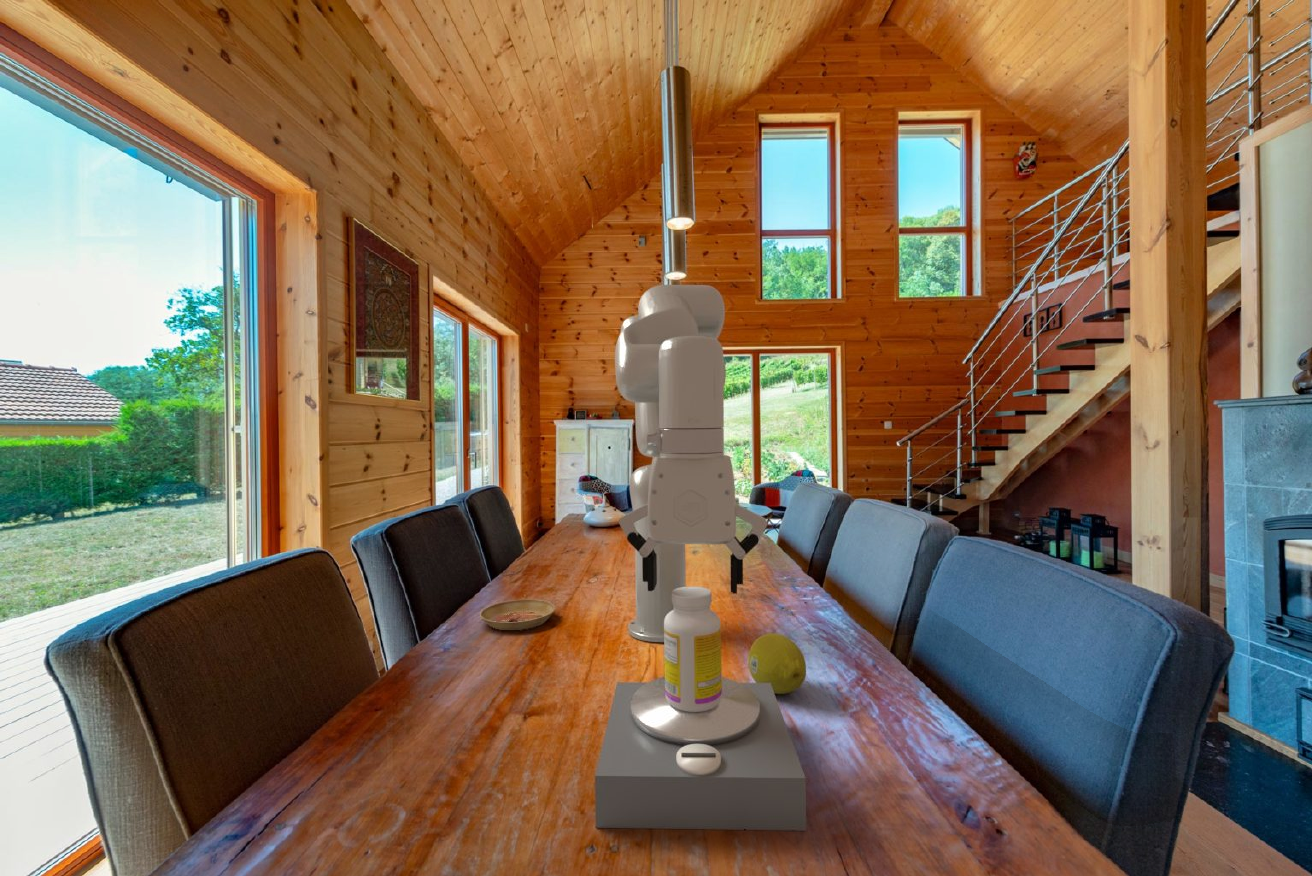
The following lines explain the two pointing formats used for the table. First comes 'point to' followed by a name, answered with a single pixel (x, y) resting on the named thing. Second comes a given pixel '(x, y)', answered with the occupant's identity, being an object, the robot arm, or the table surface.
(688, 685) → the supplement bottle
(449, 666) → the table surface
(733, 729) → the scale pan
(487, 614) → the plant saucer
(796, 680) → the lemon
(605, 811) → the kitchen scale
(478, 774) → the table surface
